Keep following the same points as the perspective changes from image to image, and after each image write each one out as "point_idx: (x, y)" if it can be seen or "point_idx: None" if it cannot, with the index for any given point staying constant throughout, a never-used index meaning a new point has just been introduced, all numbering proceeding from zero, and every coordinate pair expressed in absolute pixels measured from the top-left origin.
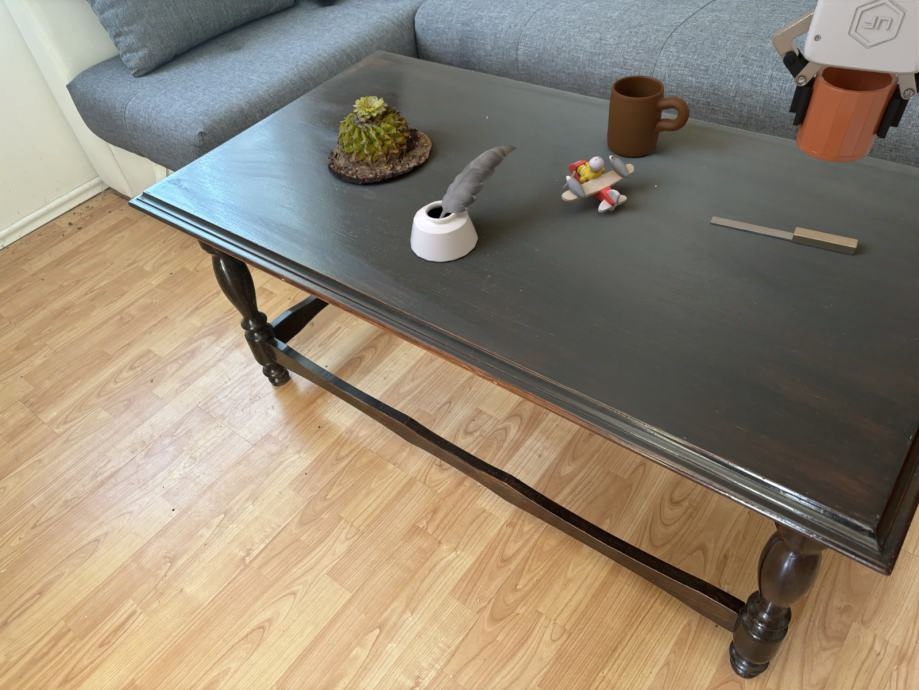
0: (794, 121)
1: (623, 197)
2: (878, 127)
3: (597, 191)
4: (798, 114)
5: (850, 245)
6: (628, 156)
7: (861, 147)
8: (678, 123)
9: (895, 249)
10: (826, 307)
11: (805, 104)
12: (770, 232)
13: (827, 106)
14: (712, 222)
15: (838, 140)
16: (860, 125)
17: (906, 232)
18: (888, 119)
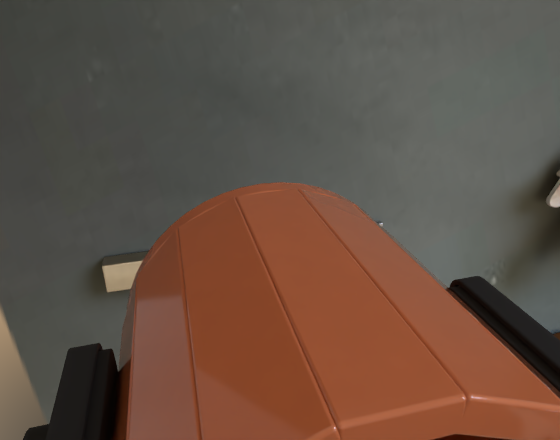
0: (484, 283)
1: (556, 201)
2: (119, 386)
3: None
4: (500, 305)
5: (114, 267)
6: (554, 334)
7: (155, 268)
8: None
9: (35, 313)
10: (95, 64)
11: (519, 346)
12: None
13: (454, 314)
14: (378, 223)
15: (271, 223)
16: (205, 302)
17: (35, 370)
18: (74, 419)
